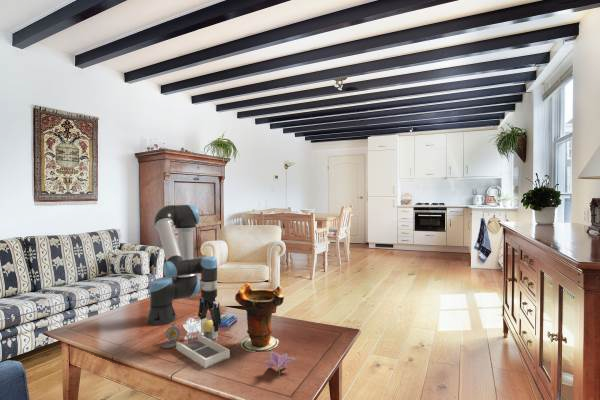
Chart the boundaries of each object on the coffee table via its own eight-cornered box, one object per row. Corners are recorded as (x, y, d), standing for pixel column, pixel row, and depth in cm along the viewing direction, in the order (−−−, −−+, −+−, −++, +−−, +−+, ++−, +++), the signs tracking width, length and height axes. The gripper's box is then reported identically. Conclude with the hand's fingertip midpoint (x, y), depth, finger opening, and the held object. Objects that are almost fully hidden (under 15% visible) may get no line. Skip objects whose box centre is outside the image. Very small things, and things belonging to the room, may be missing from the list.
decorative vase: (286, 352, 149) (283, 290, 149) (235, 356, 148) (231, 293, 147) (285, 332, 170) (282, 278, 170) (240, 336, 169) (237, 281, 168)
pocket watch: (162, 350, 152) (162, 328, 152) (160, 342, 159) (160, 322, 159) (181, 346, 156) (181, 325, 156) (178, 339, 163) (178, 319, 163)
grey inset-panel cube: (203, 340, 163) (203, 331, 162) (210, 337, 166) (210, 329, 165) (208, 342, 160) (208, 334, 160) (215, 339, 163) (215, 331, 163)
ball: (200, 332, 162) (200, 320, 162) (211, 328, 167) (211, 316, 167) (207, 336, 158) (207, 323, 158) (218, 332, 163) (218, 320, 163)
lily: (300, 374, 134) (296, 348, 138) (288, 377, 124) (284, 349, 128) (273, 379, 137) (270, 353, 141) (259, 381, 127) (257, 354, 131)
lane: (176, 349, 152) (176, 342, 152) (199, 341, 161) (199, 334, 161) (205, 368, 136) (205, 360, 136) (229, 357, 145) (229, 349, 145)
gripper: (190, 286, 167) (190, 331, 167) (215, 295, 152) (215, 344, 153) (203, 283, 172) (203, 326, 173) (229, 291, 158) (229, 338, 158)
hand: (209, 334), depth 163 cm, fingers open, 9 cm apart
